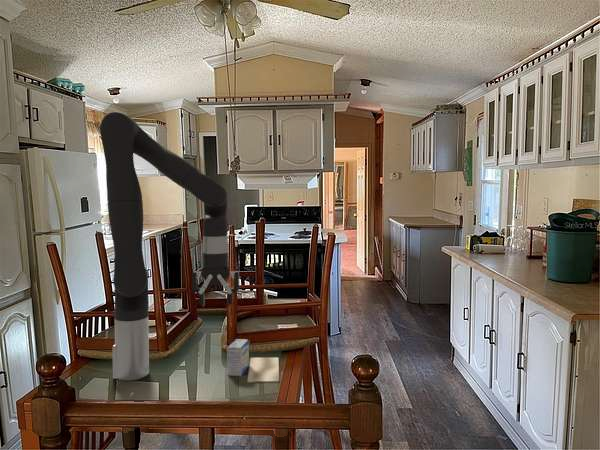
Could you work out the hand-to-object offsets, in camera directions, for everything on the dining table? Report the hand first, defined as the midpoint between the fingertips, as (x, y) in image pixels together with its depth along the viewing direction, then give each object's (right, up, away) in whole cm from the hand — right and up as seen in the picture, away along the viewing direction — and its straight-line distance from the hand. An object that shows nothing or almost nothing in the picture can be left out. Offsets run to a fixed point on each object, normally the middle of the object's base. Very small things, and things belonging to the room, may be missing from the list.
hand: (216, 305), depth 131 cm
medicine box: (+6, -20, +2) cm, 21 cm away
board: (+14, -20, +3) cm, 25 cm away
